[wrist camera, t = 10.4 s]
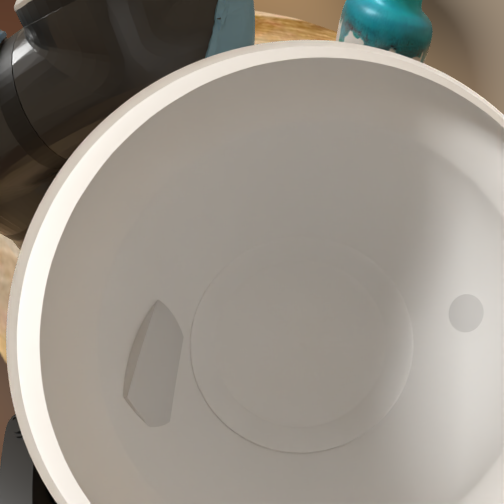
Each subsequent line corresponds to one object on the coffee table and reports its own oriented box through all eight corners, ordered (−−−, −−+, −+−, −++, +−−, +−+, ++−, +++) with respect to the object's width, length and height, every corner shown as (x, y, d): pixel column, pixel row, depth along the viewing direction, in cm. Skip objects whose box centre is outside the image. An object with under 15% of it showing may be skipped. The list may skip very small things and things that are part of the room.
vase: (414, 107, 33) (463, 0, 14) (370, 134, 31) (421, -2, 13) (360, 65, 36) (385, -40, 17) (311, 85, 34) (325, -43, 16)
